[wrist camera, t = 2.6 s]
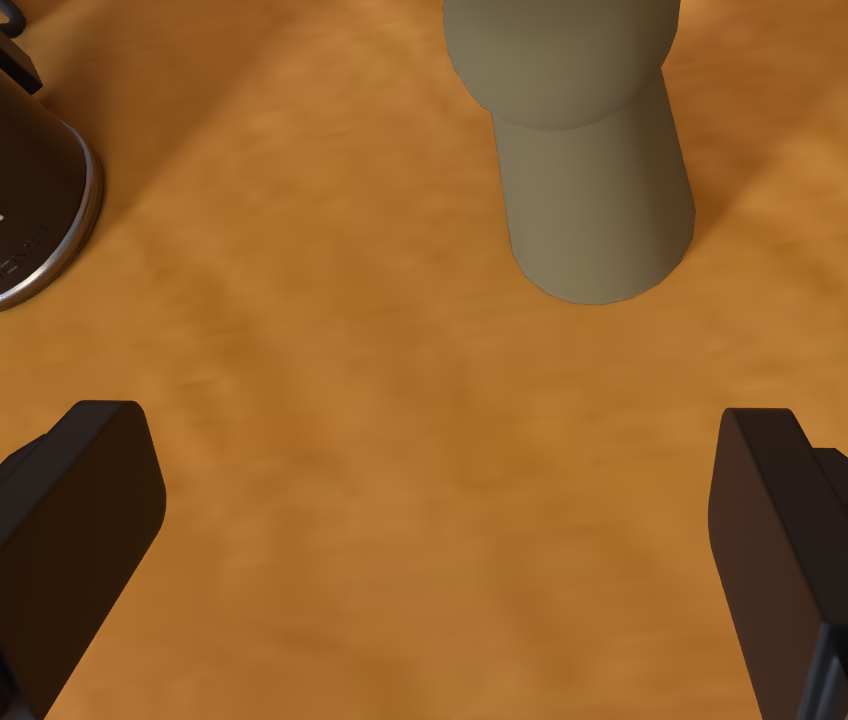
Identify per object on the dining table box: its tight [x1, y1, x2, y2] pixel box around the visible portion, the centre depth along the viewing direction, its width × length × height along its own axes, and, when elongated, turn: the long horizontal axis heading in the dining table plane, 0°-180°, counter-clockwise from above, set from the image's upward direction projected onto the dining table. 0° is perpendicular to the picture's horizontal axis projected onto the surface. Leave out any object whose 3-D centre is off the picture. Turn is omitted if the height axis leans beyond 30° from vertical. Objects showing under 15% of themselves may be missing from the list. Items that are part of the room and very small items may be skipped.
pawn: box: [443, 0, 696, 305], centre depth 21 cm, size 6×6×11 cm
